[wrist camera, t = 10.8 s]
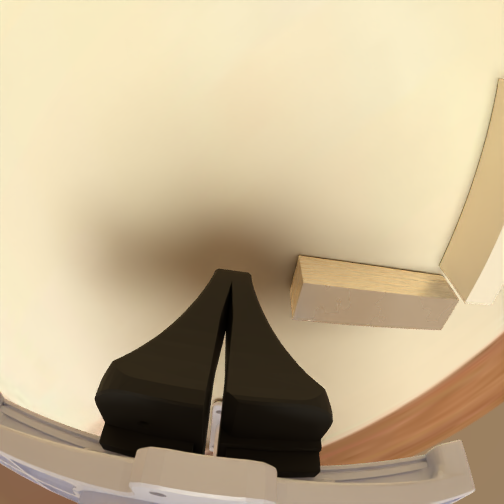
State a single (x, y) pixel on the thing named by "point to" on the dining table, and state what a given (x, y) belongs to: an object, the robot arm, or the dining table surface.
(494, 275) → the housing
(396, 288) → the cream wooden plank
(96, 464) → the robot arm
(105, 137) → the dining table surface
